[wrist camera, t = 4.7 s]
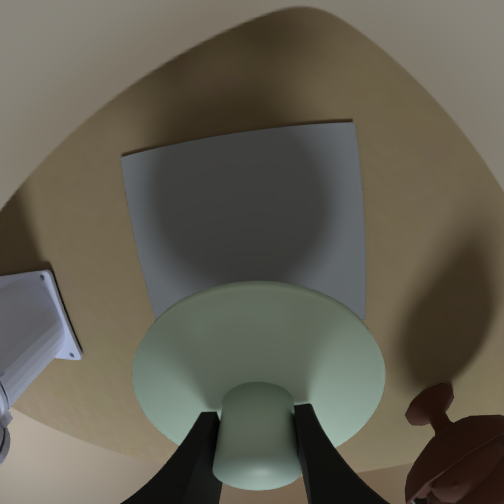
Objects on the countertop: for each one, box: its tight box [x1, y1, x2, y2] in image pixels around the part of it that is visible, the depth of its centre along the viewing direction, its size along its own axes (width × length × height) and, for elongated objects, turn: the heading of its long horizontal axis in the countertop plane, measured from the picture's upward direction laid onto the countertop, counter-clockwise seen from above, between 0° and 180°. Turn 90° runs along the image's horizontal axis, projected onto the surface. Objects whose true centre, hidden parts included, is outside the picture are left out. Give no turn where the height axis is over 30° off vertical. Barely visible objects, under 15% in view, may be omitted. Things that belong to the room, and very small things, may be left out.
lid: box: [132, 280, 385, 490], centre depth 10 cm, size 11×11×4 cm
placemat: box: [120, 122, 366, 320], centre depth 17 cm, size 14×13×1 cm
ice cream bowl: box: [405, 383, 504, 504], centre depth 14 cm, size 11×11×15 cm
